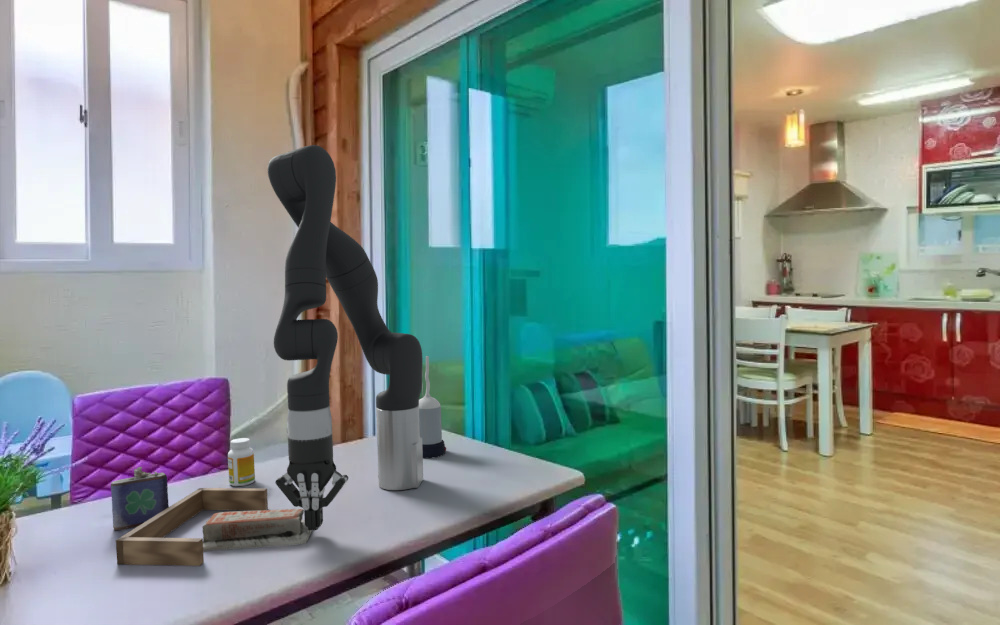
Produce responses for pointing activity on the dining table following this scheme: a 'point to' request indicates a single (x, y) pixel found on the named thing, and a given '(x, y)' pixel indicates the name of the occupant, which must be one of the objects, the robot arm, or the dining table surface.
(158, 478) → the flask
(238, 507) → the frame
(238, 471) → the supplement bottle
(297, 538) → the packaged product
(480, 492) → the dining table surface
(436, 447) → the humidifier
